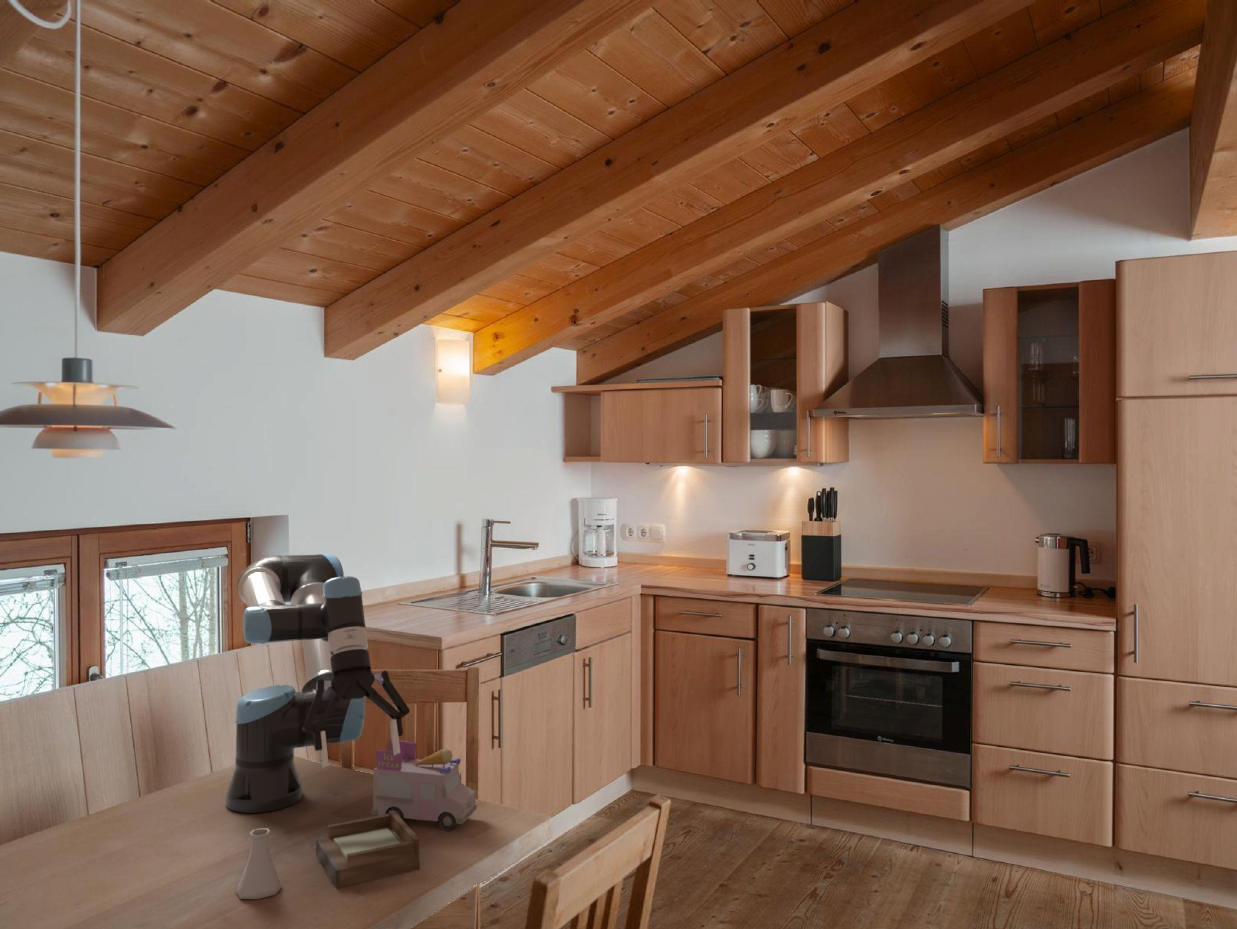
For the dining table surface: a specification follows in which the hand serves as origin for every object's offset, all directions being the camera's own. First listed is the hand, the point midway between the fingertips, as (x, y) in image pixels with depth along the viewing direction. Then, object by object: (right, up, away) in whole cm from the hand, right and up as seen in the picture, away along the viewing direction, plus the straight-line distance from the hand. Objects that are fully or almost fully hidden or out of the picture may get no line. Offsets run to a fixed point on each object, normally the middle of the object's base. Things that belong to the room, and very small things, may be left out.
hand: (362, 760), depth 175 cm
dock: (+4, -15, -10) cm, 19 cm away
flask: (-11, -15, -22) cm, 29 cm away
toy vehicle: (+10, -15, +9) cm, 20 cm away
